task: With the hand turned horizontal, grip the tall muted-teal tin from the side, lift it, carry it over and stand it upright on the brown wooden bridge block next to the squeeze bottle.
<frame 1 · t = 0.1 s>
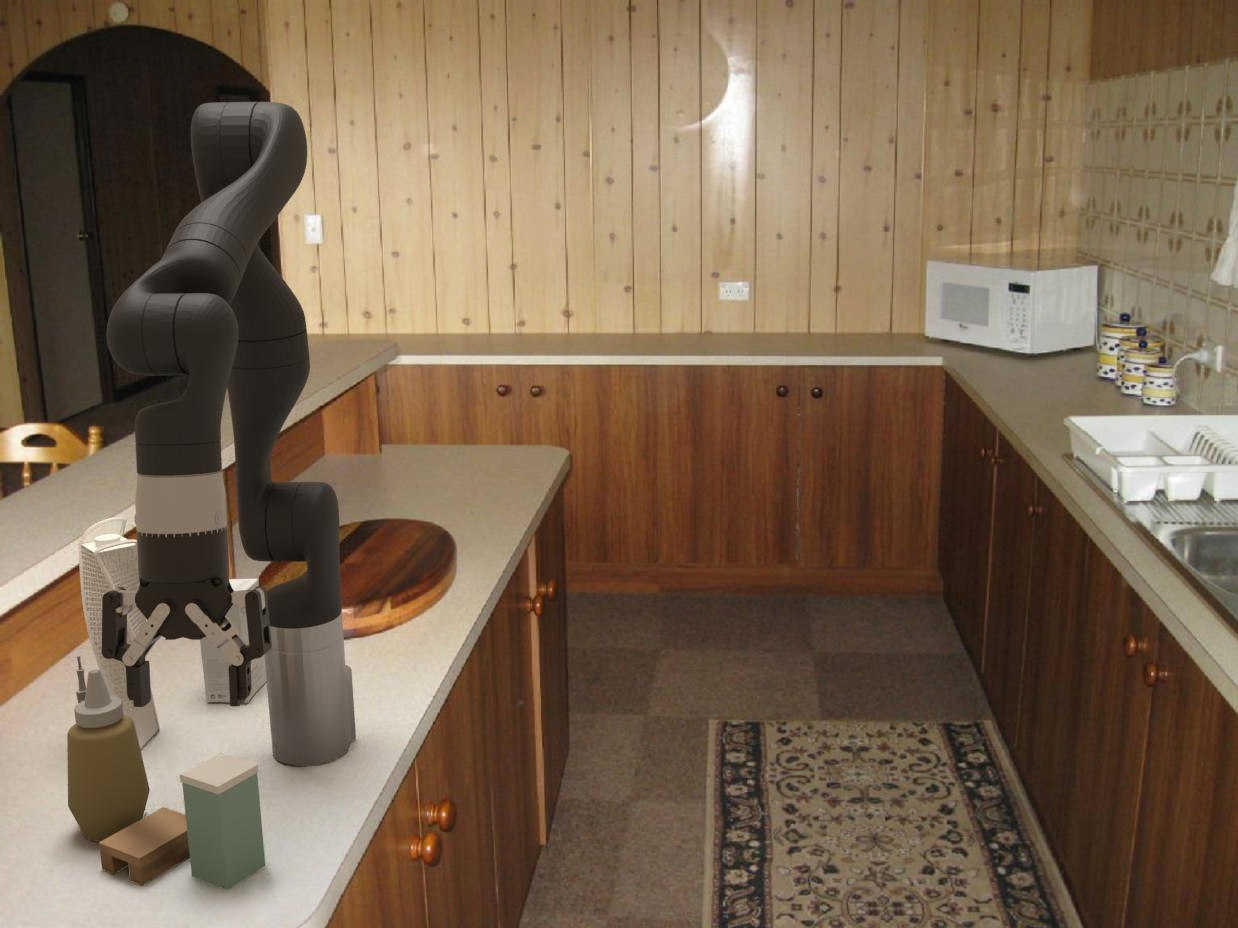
hand: (189, 704, 110), 22 cm above the table, tool pointing down, fingers open, 8 cm apart
squeeze bottle: (113, 830, 133), on the table
skyscraper: (128, 743, 154), on the table
skincare box: (237, 692, 167), on the table
brown wooden bridge block: (154, 857, 127), on the table
tin: (228, 871, 125), on the table
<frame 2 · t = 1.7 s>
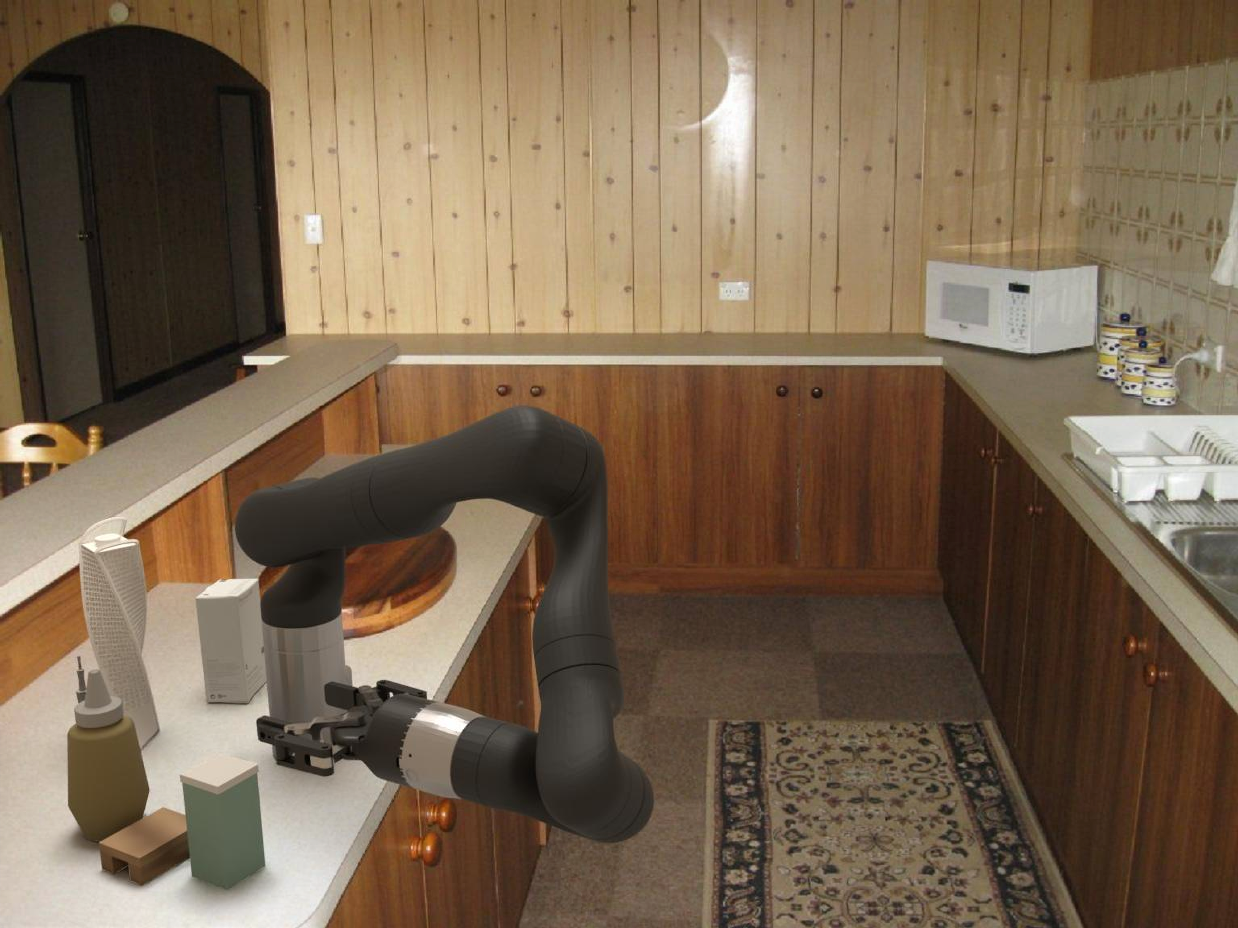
hand: (294, 709, 114), 20 cm above the table, tool horizontal, fingers open, 8 cm apart
nothing on the table moved.
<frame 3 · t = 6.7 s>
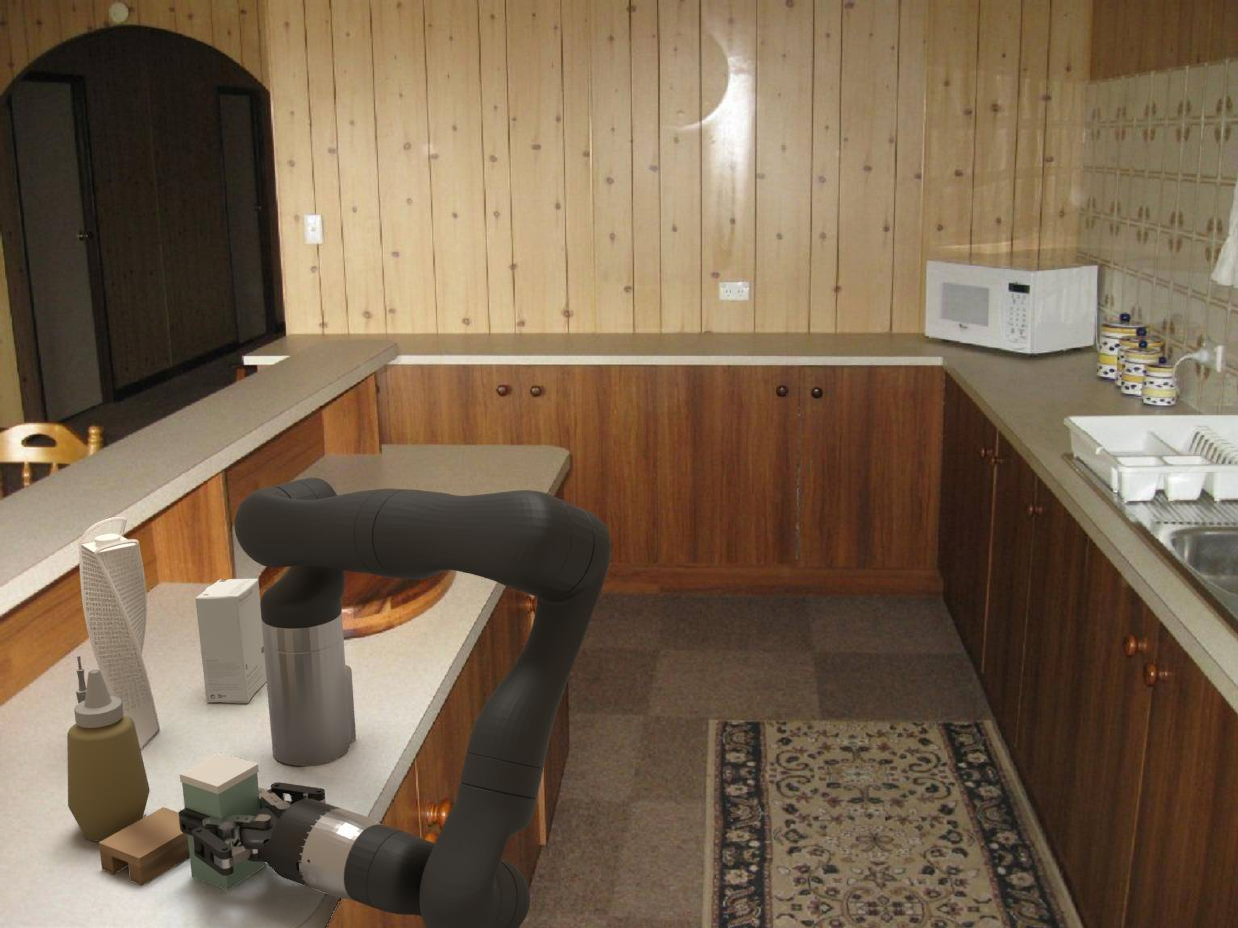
hand: (204, 805, 124), 7 cm above the table, tool horizontal, fingers closed on tin, 5 cm apart
tin: (228, 870, 124), on the table, touching gripper
everything else where it was.
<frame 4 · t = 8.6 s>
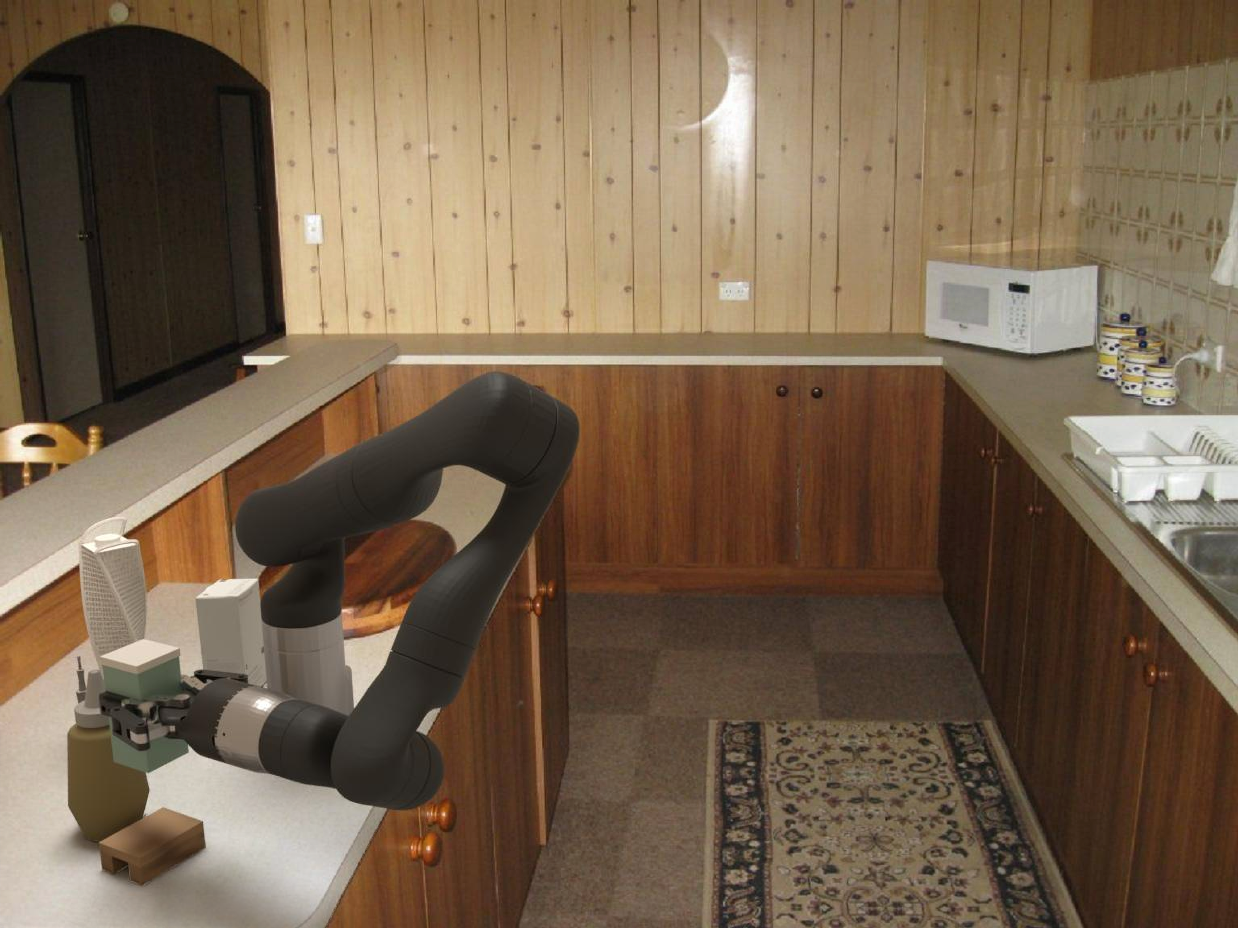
hand: (126, 691, 124), 18 cm above the table, tool horizontal, fingers closed on tin, 5 cm apart
tin: (151, 757, 124), point 11 cm above the table, touching gripper
everything else where it was.
when the fingers open (11 cm above the table, at t = 10.8 s): tin drops 1 cm, resting on brown wooden bridge block.
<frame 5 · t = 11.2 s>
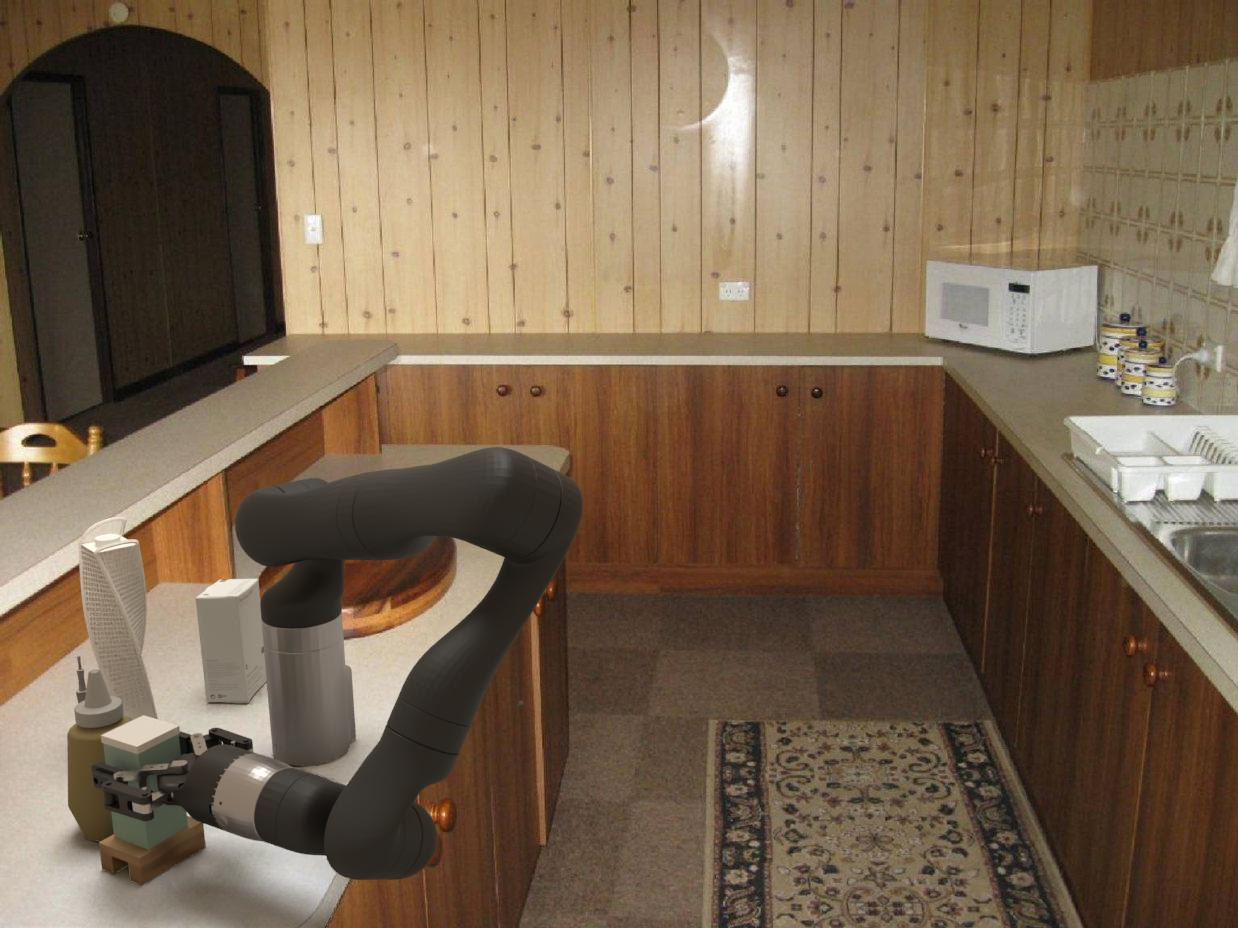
hand: (130, 755, 125), 11 cm above the table, tool horizontal, fingers open, 8 cm apart
tin: (151, 831, 126), point 3 cm above the table, touching brown wooden bridge block
everything else where it was.
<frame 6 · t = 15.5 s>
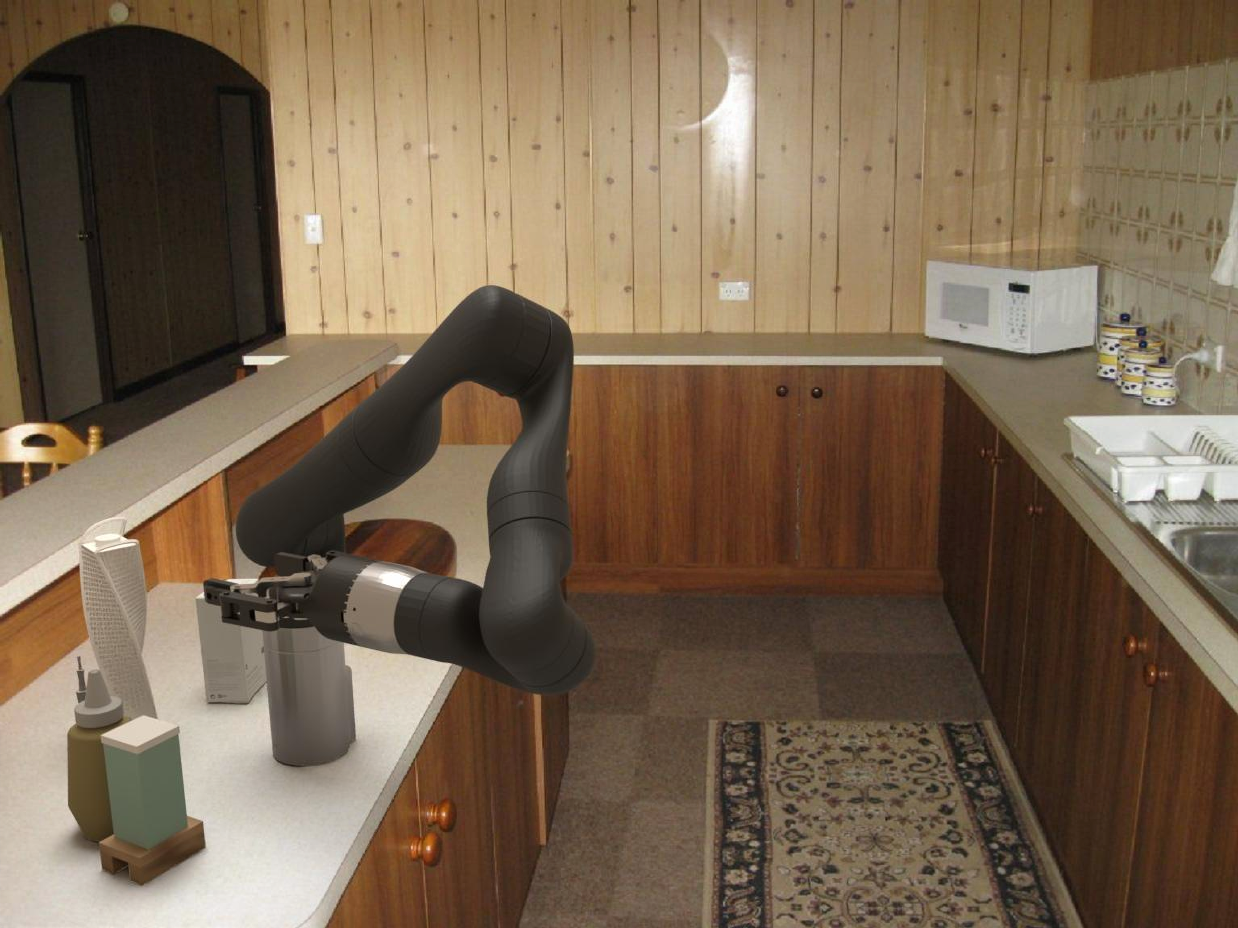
hand: (242, 576, 114), 32 cm above the table, tool horizontal, fingers open, 8 cm apart
nothing on the table moved.
at the end: tin inside the target area on the brown wooden bridge block (0.0 cm from its centre), point 3.0 cm above the brown wooden bridge block's base; tin tilted 0°; the gripper is holding nothing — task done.
